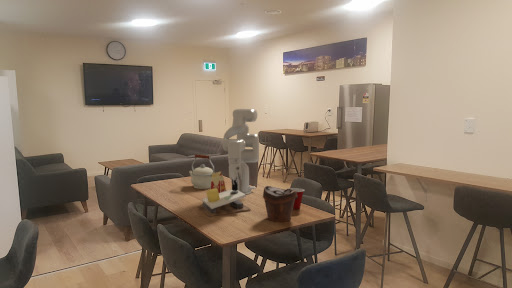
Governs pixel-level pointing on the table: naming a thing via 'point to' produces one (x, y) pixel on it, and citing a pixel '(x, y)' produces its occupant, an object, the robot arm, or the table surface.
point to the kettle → (201, 174)
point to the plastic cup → (298, 201)
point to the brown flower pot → (279, 203)
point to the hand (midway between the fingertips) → (234, 190)
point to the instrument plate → (221, 197)
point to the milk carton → (218, 182)
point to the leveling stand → (224, 208)
